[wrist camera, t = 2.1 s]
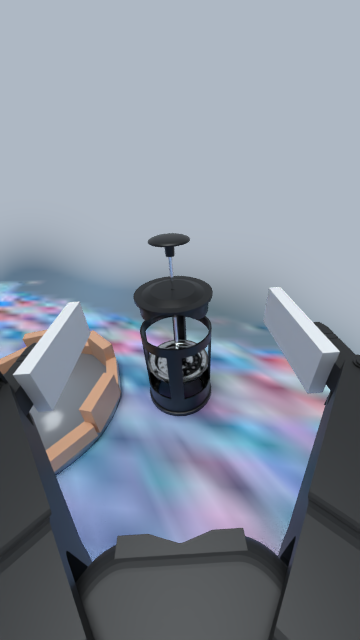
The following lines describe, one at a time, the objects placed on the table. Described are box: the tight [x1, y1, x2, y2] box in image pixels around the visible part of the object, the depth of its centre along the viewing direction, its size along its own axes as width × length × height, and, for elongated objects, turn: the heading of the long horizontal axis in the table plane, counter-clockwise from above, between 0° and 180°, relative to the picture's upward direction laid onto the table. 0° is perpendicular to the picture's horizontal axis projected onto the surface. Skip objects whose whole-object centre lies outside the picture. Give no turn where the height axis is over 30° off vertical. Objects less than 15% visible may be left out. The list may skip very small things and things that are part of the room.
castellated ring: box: [0, 330, 121, 475], centre depth 33 cm, size 24×24×6 cm
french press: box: [134, 233, 212, 416], centre depth 29 cm, size 12×9×23 cm
